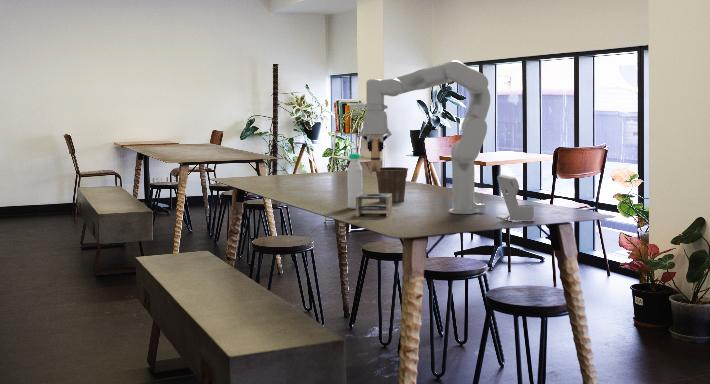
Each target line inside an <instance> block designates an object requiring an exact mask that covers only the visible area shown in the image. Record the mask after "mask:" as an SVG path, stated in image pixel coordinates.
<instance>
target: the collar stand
mask: <svg viewBox="0 0 710 384" xmlns="http://www.w3.org/2000/svg"><path fill="white" fill-rule="evenodd" d="M379 199H386V203H385V204H364V200H379ZM365 211H366V212H368V211H369V212H370V211H371V212H385V214H386V218H387V217H388V218H389V217H390V216H391V215H392V213H393V203H392V194H379V193H363V194H359V195H358V196H356V209H355V216H356V217H360V216H361V215H362V214H364V212H365Z"/></svg>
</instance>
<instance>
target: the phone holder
mask: <svg viewBox="0 0 710 384" xmlns="http://www.w3.org/2000/svg"><path fill="white" fill-rule="evenodd" d="M496 178H497V183H498V185H499V188H500V191H501V194H502V196H503V199H504V203H505V205H506V208H507V212H508V214H501V215H496V218H497V217H499V218H503V219H507V220H508V218H509V217H510V220H516V221H517V220H532V219H534V209H535V208H534V205H532V204H519V202H518V199H517V195H518V192H519V190H520V185H519V182H518V180H517V178H516V177H515V176H514V177H513V176H510V175H505V174H500V175H497V176H496ZM499 218H498V219H499ZM534 220H535V219H534Z"/></svg>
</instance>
